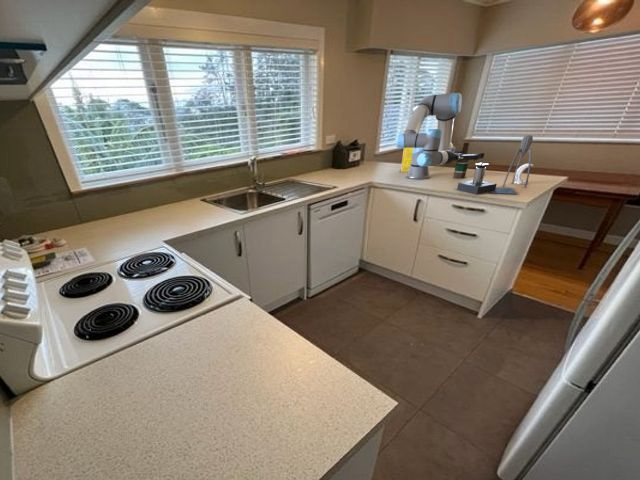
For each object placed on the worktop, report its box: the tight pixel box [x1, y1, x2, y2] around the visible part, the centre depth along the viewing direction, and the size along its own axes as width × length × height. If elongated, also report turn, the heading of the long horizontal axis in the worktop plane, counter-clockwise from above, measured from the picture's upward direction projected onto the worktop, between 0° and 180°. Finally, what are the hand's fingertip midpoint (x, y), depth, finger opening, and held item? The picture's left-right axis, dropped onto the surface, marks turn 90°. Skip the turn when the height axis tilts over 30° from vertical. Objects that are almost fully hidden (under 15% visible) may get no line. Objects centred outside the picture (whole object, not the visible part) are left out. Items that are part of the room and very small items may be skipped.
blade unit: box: [472, 162, 490, 185], centre depth 181 cm, size 6×6×17 cm
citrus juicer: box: [502, 134, 534, 189], centre depth 180 cm, size 11×10×30 cm
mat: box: [489, 186, 518, 196], centre depth 179 cm, size 14×12×1 cm
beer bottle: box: [452, 142, 470, 180], centre depth 211 cm, size 8×8×24 cm
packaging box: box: [400, 148, 414, 173], centre depth 246 cm, size 16×16×25 cm
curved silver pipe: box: [513, 162, 534, 185], centre depth 188 cm, size 5×6×12 cm
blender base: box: [456, 179, 498, 195], centre depth 184 cm, size 14×14×4 cm
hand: (472, 154), depth 174 cm, fingers open, 13 cm apart
